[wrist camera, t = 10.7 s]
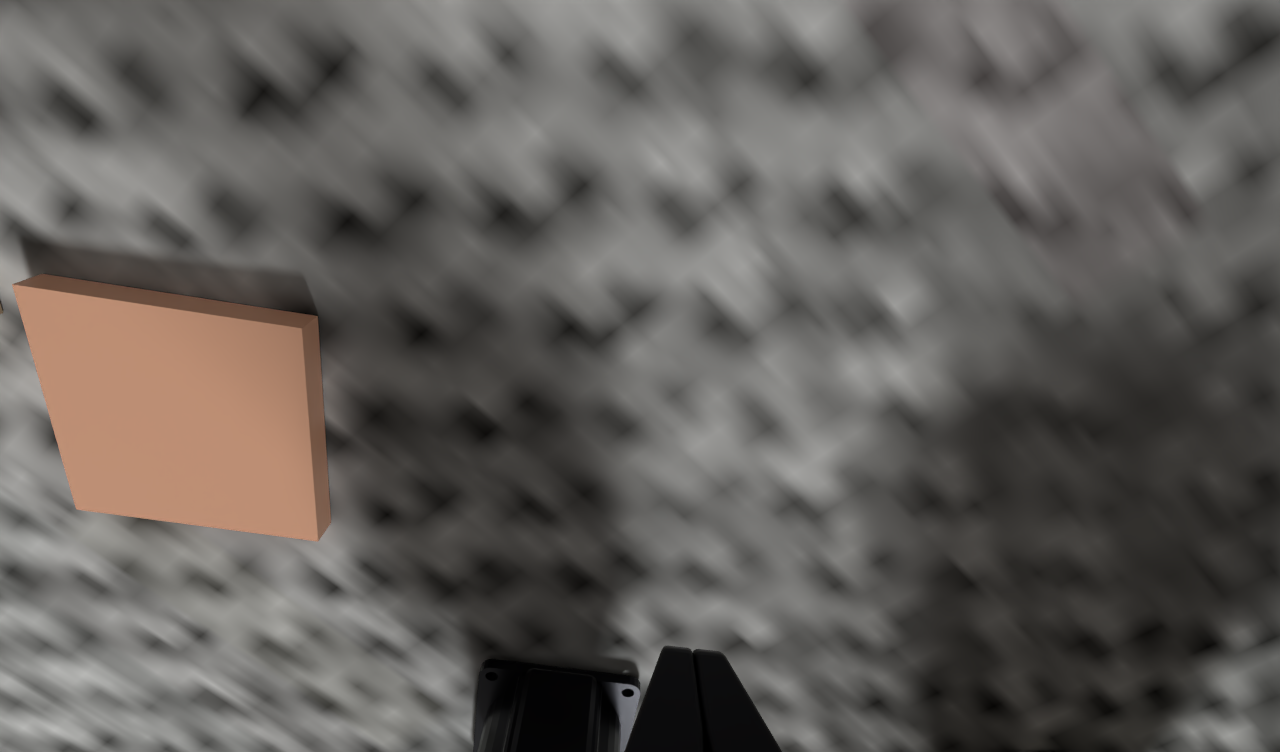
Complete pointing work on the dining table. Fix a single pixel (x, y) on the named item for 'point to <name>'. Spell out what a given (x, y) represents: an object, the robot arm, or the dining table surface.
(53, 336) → the tile
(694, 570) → the dining table surface
